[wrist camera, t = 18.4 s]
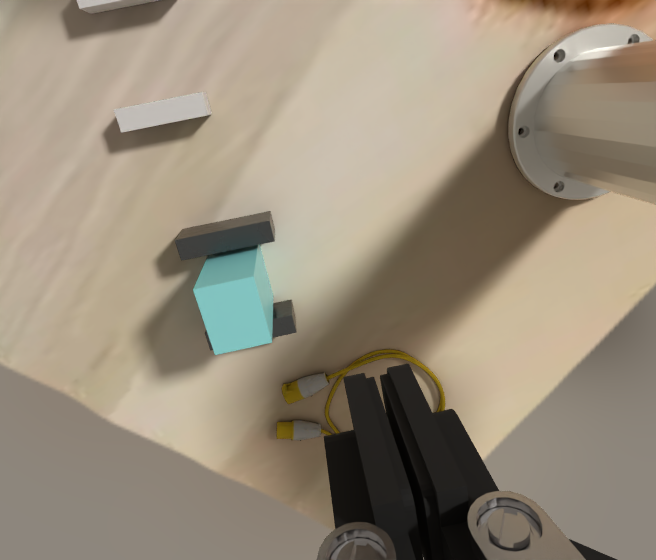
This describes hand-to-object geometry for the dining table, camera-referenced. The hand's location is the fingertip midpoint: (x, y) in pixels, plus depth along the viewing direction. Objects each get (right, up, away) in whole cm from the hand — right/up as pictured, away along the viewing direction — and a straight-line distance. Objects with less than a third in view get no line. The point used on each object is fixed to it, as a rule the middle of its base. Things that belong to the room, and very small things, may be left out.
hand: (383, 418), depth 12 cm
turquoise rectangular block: (-8, +4, +27) cm, 29 cm away
